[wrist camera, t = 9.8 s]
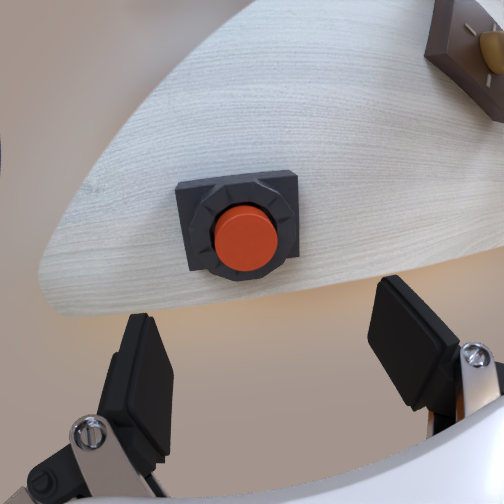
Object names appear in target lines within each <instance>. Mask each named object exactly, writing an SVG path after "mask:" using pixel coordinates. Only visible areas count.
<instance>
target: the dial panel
mask: <svg viewBox="0 0 504 504" xmlns="http://www.w3.org/2000/svg"><path fill="white" fill-rule="evenodd" d="M491 31H503V30H502V29H501V27H500V26H499V25H498V24H497V23H496V22H495V20H494V19H493V18H492V17H491V16H490V15H489V14H488V13H487V12H486V10H485V9H484V8H483V7H482V6H481V5H480V4H479V3H478V2H477V1H476V0H435V5H434V11H433V17H432V22H431V27H430V32H429V37H428V42H427V46H426V50H425V55H424V57H425V58H427V59H428V60H429V61H431V62H432V63H433V64H434V65H436V66H437V67H438V68H439V69H440V70H442V71H443V72H444V73H445V74H446V75H448V76H449V77H450V78H451V79H452V80H453V81H454V82H455V83H457V84H458V85H459V86H460V87H461V88H462V89H463V90H464V91H465V92H466V93H467V94H468V95H469V96H470V97H471V98H472V99H473V100H474V101H475V102H476V103H477V104H478V105H479V106H480V107H481V108H482V109H483V110H484V111H485V112H486V113H487V114H488V115H489V116H490V117H491V118H492V120H493V121H496V122H501V123H504V75H501V74H496V73H494V72H493V71H492V70H491V69H490V68H489V67H488V65H487V64H486V62H485V60H484V58H483V55H482V52H481V48H480V36H481V34H482V33H483V32H491Z"/></svg>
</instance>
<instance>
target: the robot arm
mask: <svg viewBox="0 0 504 504" xmlns="http://www.w3.org/2000/svg"><path fill="white" fill-rule="evenodd" d="M367 338H368V343H369V345H370V346H371V348H372V349H373V351H374V353H375V354H376V356H377V357H378V359H379V361H380V362H381V364H382V366H383V367H384V369H385V370H386V372H387V374H388V375H389V377H390V379H391V380H392V382H393V384H394V385H395V387H396V389H397V390H398V392H399V394H400V395H401V397H402V399H403V401H404V402H405V404H406V405H407V406H411V408H412V410H413V411H417V410H419V409H421V408H423V407H425V406H426V407H427V409H428V410H429V412H428V427H427V438H426V440H425V441H423V442H421V443H419V444H416V445H414V446H412V447H410V448H408V449H406V450H404V451H401V452H399V453H397V454H394V455H392V456H389V457H387V458H385V459H382V460H379V461H377V462H374V463H372V464H369V465H366V466H363V467H360V468H358V469H355V470H352V471H348V472H345V473H342V474H339V475H336V476H332V477H328V478H325V479H321V480H317V481H313V482H309V483H305V484H300V485H296V486H291V487H286V488H282V489H275V490H270V491H263V492H256V493H249V494H241V495H231V496H218V497H197V498H171V497H170V496H169V494H168V493H167V492H166V490H165V489H164V488H163V486H162V485H161V483H160V482H159V481H158V479H157V478H156V476H155V475H154V473H153V471H154V470H155V469H156V463H165V456H168V455H169V454H170V438H171V437H170V436H171V413H172V395H173V380H174V375H173V369H172V366H171V364H170V361H169V358H168V356H167V353H166V351H165V348H164V345H163V343H162V340H161V337H160V335H159V332H158V329H157V326H156V323H155V320H154V318H153V317H149V316H148V314H147V313H139V314H131V315H130V317H129V320H128V323H127V326H126V329H125V332H124V335H123V339H122V342H121V346H120V349H119V352H116V353H114V354H113V356H112V359H111V363H110V366H109V369H108V373H107V377H106V380H105V384H104V387H103V391H102V395H101V399H100V403H99V407H98V411H97V415H86V416H83V417H81V418H79V419H78V420H77V421H76V422H75V423H74V424H73V425H72V428H71V429H70V433H69V439H70V444H68V445H67V446H65V447H64V448H63V449H61V450H60V451H58V452H57V453H55V454H54V455H52V456H51V457H49V458H48V459H46V460H45V461H43V462H41V463H40V464H38V465H37V466H35V467H34V468H33V469H32V470H31V471H30V473H29V475H28V478H27V487H26V488H25V487H23V486H22V487H21V488H20V489H19V490H18V491H17V492H16V493H15V494H14V495H12V496H11V497H10V498H9V499H8V500H7V501H6V502H5V503H4V504H504V364H503V363H499V362H495V361H494V357H493V354H492V352H491V351H490V349H489V348H488V347H486V346H485V345H484V344H481V343H478V342H468V343H465V344H464V345H463V346H462V347H460V346H459V345H458V344H459V342H460V340H459V339H458V338H457V337H456V335H454V333H453V332H452V331H451V330H450V329H449V328H448V327H447V326H446V325H445V323H444V322H443V321H442V320H441V319H440V318H439V317H438V316H437V315H436V314H435V313H434V312H433V310H432V309H431V308H430V307H429V306H428V305H427V304H426V303H425V302H424V301H423V300H422V299H421V298H420V297H419V296H418V295H417V294H416V293H415V292H414V291H413V290H412V289H411V288H410V287H409V286H408V285H407V284H406V283H405V282H404V281H403V280H402V279H401V278H400V277H399V276H398V275H391V276H386V277H383V278H382V279H381V281H380V282H379V283H378V284H377V289H376V295H375V301H374V306H373V311H372V317H371V321H370V326H369V331H368V337H367Z"/></svg>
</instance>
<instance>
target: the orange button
mask: <svg viewBox="0 0 504 504" xmlns="http://www.w3.org/2000/svg"><path fill="white" fill-rule="evenodd" d="M214 234H215V249H216V253H217V255H218V257H219V259H220V260H221V261H222V262H223V263H224V264H225V265H226V266H228V267H230V268H232V269H234V270H238V271H252V270H255V269H258V268H260V267H262V266H264V265H265V264H266V263H268V262H269V261H270V259H271V258H272V257H273V255H274V253H275V251H276V248H277V241H278V239H277V234H276V231H275V229H274V227H273V225H272V223H271V222H270V220H269V218H268V217H267V215H266V214H265V213H264V212H263V211H261V210H260V209H258V208H256V207H253V206H249V205H241V206H236V207H233V208H231V209H229V210H227V211H226V212H225V213H223V214H222V216H221V217H220V218H219V219H218V221H217V223H216V226H215V233H214Z"/></svg>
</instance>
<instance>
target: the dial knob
mask: <svg viewBox="0 0 504 504" xmlns="http://www.w3.org/2000/svg"><path fill="white" fill-rule="evenodd" d="M480 48H481V52H482V55H483V58H484V60H485V62H486V64H487V65H488V67H489V68H490V69H491V70H492V71H493V72H494V73H496V74H501V75H504V31H491V32H483V33H482V34H481V36H480Z"/></svg>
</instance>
